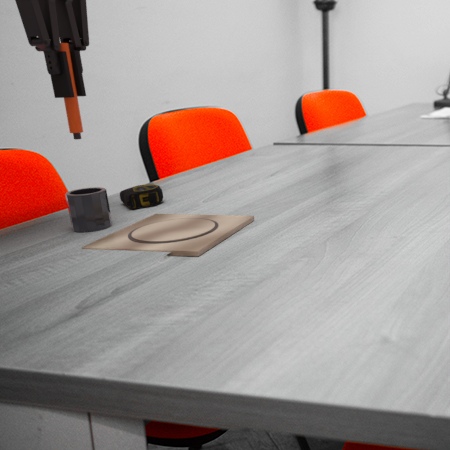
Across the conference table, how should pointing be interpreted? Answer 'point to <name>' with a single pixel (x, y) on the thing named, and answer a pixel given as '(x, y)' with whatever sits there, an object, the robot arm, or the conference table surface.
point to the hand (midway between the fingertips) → (70, 96)
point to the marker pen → (72, 101)
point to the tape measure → (142, 196)
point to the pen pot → (88, 209)
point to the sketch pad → (173, 234)
